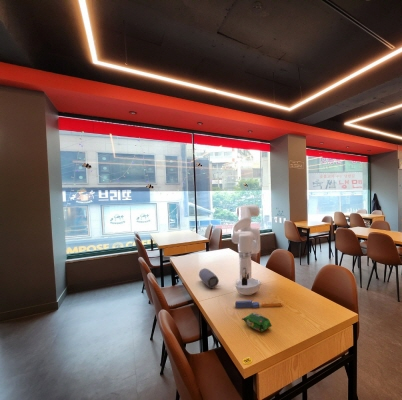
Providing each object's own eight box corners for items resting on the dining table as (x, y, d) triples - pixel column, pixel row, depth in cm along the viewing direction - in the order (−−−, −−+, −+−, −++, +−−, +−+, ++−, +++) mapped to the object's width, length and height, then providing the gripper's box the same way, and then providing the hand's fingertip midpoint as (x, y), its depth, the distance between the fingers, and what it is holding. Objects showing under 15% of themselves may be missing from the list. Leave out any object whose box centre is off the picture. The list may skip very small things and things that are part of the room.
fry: (261, 306, 137) (261, 303, 137) (261, 305, 139) (261, 302, 139) (281, 306, 137) (281, 303, 137) (281, 304, 139) (281, 301, 139)
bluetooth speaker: (219, 287, 166) (219, 274, 166) (206, 290, 161) (206, 276, 161) (209, 278, 185) (209, 266, 185) (198, 281, 180) (198, 268, 180)
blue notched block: (235, 308, 134) (235, 303, 134) (236, 305, 139) (236, 300, 139) (259, 308, 135) (258, 302, 135) (259, 304, 140) (259, 299, 140)
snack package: (250, 318, 123) (250, 309, 123) (272, 328, 113) (272, 318, 113) (241, 324, 118) (240, 314, 118) (263, 335, 108) (263, 324, 108)
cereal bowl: (250, 286, 169) (250, 276, 169) (265, 292, 157) (265, 282, 157) (231, 293, 157) (230, 282, 157) (245, 300, 145) (245, 289, 145)
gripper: (240, 250, 146) (240, 276, 146) (237, 258, 128) (237, 288, 129) (252, 250, 146) (252, 276, 147) (250, 258, 129) (250, 287, 129)
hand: (245, 282), depth 138 cm, fingers open, 9 cm apart
